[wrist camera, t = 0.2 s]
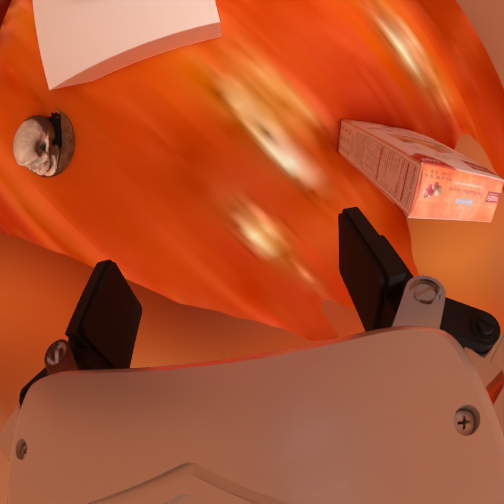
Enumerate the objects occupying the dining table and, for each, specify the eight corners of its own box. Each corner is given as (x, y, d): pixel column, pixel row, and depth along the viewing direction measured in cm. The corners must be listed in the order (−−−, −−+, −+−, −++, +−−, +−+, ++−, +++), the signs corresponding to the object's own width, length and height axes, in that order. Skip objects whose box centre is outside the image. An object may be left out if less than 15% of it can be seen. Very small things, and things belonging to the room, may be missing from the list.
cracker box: (415, 128, 37) (507, 180, 20) (409, 161, 41) (491, 226, 24) (339, 114, 36) (425, 161, 19) (335, 152, 40) (408, 223, 23)
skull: (82, 175, 37) (25, 200, 30) (64, 162, 41) (17, 182, 35) (74, 101, 30) (10, 122, 23) (58, 100, 34) (6, 118, 27)
